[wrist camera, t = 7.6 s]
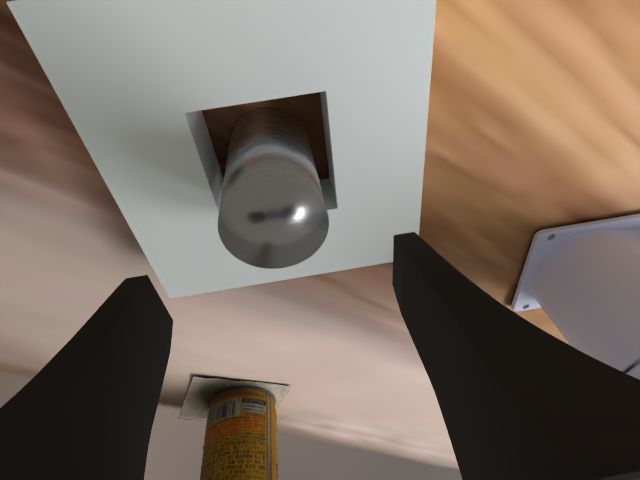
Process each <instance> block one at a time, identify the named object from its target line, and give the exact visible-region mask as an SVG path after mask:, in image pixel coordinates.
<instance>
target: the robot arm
mask: <svg viewBox="0 0 640 480" xmlns="http://www.w3.org/2000/svg"><path fill="white" fill-rule="evenodd" d="M393 287H394V291H395V294H396V298H397V301H398V304H399V308H400V311H401V314H402V316H403V319H404V321H405V324H406V326H407V328H408V330H409V333H410V335H411V337H412V340H413V342H414V344H415V347H416V349H417V351H418V353H419V356H420V358H421V360H422V363H423V365H424V367H425V369H426V372H427V374H428V376H429V379H430V381H431V384H432V386H433V389H434V391H435V394H436V397H437V400H438V403H439V406H440V409H441V412H442V415H443V418H444V421H445V424H446V427H447V430H448V434H449V437H450V440H451V443H452V446H453V450H454V453H455V456H456V459H457V462H458V466H459V469H460V473H461V476H462V479H463V480H640V214H634V215H628V216H622V217H616V218H610V219H604V220H598V221H592V222H586V223H580V224H574V225H568V226H562V227H555V228H549V229H543V230H540V231H538V232H537V233H536V234H535V235H534V238H533V241H532V244H531V247H530V250H529V253H528V256H527V259H526V262H525V265H524V268H523V271H522V274H521V277H520V280H519V283H518V286H517V289H516V292H515V296H514V299H513V302H512V305H511V307H512V309H513V310H514V311H516V312H518V311H524V310H530V309H536V308H542V309H543V310H544V311H545V313H546V314H547V315H548V316H549V318H550V319H551V320H552V322H553V323H554V324H555V326H556V327H557V328H558V329H559V331H560V332H561V333H562V335H563V336H564V337H565V339H566V340H567V341H568V342H569V344H570V345H571V346H570V345H568V344H566V343H565V342H563V341H561V340H559V339H557V338H555V337H554V336H552V335H550V334H548V333H547V332H545V331H543V330H541V329H540V328H538V327H536V326H535V325H533V324H531V323H530V322H528V321H527V320H525V319H524V318H522V317H520V316H519V315H517V314H516V313H514V312H513V311H511V310H509V309H508V308H507V307H505V306H504V305H502V304H501V303H499V302H498V301H497V300H495V299H494V298H492V297H491V296H490V295H488V294H487V293H486V292H484V291H483V290H482V289H480V288H479V287H478V286H477V285H475V284H474V283H473V282H471V281H470V280H469V279H468V278H467V277H465V276H464V275H463V274H462V273H460V272H459V271H458V270H457V269H456V268H454V267H453V266H452V265H451V264H450V263H449V262H447V261H446V260H445V259H444V258H443V257H442V256H441V255H439V254H438V253H437V252H436V251H435V250H434V249H433V248H432V247H431V246H430V245H428V244H427V243H426V242H425V241H424V240H423V239H422V238H421V237H420V236H419V235H418V234H416V233H415V232H410V233H404V234H398V235H394V242H393ZM172 326H173V320H172V318H171V316H170V314H169V313H168V311H167V309H166V307H165V305H164V304H163V302H162V300H161V298H160V297H159V295H158V293H157V291H156V290H155V288H154V286H153V284H152V283H151V281H150V279H149V277H148V276H147V275H145V276H139V277H132V278H126V279H125V280H124V281H123V282H122V283H121V284H120V285H119V286H118V287H117V289H116V290H115V291H114V292H113V293H112V294H111V295H110V296H109V297H108V299H107V300H106V301H105V302H104V303H103V304H102V305H101V306H100V308H99V309H98V310H97V311H96V312H95V313H94V314H93V315H92V317H91V318H90V319H89V320H88V321H87V322H86V323H85V324H84V325H83V327H82V328H81V329H80V330H79V331H78V332H77V333H76V334H75V335H74V337H73V338H72V339H71V340H70V341H69V342H68V343H67V344H66V345H65V346H64V347H63V348H62V349H61V350H60V351H59V352H58V353H57V354H56V355H55V356H54V357H53V358H52V359H51V360H50V361H49V362H48V364H47V365H46V366H45V367H44V368H43V369H42V370H41V371H40V372H39V373H38V374H37V375H36V376H35V377H34V378H33V379H32V380H31V381H30V382H29V383H28V384H26V385H25V386H24V387H23V388H22V389H21V390H20V391H19V392H18V393H17V394H16V395H15V396H14V397H12V398H11V399H10V400H9V401H8V402H7V403H6V404H5V405H4V406H2V407H1V408H0V480H144V472H145V466H146V458H147V450H148V444H149V439H150V434H151V429H152V425H153V421H154V416H155V413H156V409H157V405H158V401H159V397H160V392H161V388H162V384H163V380H164V376H165V372H166V368H167V363H168V359H169V354H170V347H171V338H172Z"/></svg>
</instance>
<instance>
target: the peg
mask: <svg viewBox="0 0 640 480" xmlns="http://www.w3.org/2000/svg"><path fill="white" fill-rule="evenodd" d="M328 229H329V217H328V212H327V209H326V205H325V201H324V197H323V193H322V189H321V186H320V182H319V178H318V174H317V170H316V166H315V162H314V159H313V155H312V151H311V147H310V143H309V139H308V136H307V133H306V131H305V128H304V127H303V125H302V124H301V123H300V121H299V120H298V119H297V118H295V117H294V116H293V115H291V114H290V113H288V112H286V111H284V110H281V109H277V108H260V109H256V110H253V111H251V112H249V113H247V114H246V115H244V116H243V117H242V118H241V119H239V121H238V122H237V123H236V125H235V126H234V128H233V130H232V133H231V136H230V142H229V149H228V156H227V162H226V169H225V176H224V182H223V189H222V196H221V202H220V209H219V215H218V233H219V236H220V239H221V241H222V243H223V245H224V246H225V248H226V249H227V250H228V251H229V252H230V253H231V254H232V255H233V256H234V257H236V258H237V259H239V260H240V261H242V262H244V263H246V264H249V265H252V266H255V267H259V268H267V269H278V268H285V267H290V266H293V265H296V264H299V263H301V262H303V261H305V260H306V259H308V258H309V257H311V256H312V255H313V254H314V253H316V252H317V251H318V249H319V248H320V247H321V246H322V244H323V243H324V241H325V239H326V236H327V233H328Z"/></svg>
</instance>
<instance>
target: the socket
mask: <svg viewBox="0 0 640 480" xmlns="http://www.w3.org/2000/svg"><path fill="white" fill-rule="evenodd" d="M6 3H7V5H8V7H9V8H10V10H11V12H12V14H13V16H14V17H15V19H16V21H17V23H18V25H19V27H20V28H21V30H22V32H23V34H24V36H25V37H26V39H27V41H28V43H29V45H30V47H31V48H32V50H33V52H34V54H35V56H36V57H37V59H38V61H39V63H40V65H41V67H42V68H43V70H44V72H45V74H46V76H47V77H48V79H49V81H50V83H51V85H52V87H53V88H54V90H55V92H56V94H57V96H58V97H59V99H60V101H61V103H62V105H63V107H64V108H65V110H66V112H67V114H68V116H69V117H70V119H71V121H72V123H73V125H74V127H75V128H76V130H77V132H78V134H79V136H80V137H81V139H82V141H83V143H84V145H85V147H86V148H87V150H88V152H89V154H90V156H91V157H92V159H93V161H94V163H95V165H96V167H97V168H98V170H99V172H100V174H101V176H102V177H103V179H104V181H105V183H106V185H107V186H108V188H109V190H110V192H111V194H112V196H113V197H114V199H115V201H116V203H117V205H118V206H119V208H120V210H121V212H122V214H123V216H124V217H125V219H126V221H127V223H128V225H129V226H130V228H131V230H132V232H133V234H134V236H135V237H136V239H137V241H138V243H139V245H140V246H141V248H142V250H143V252H144V254H145V256H146V257H147V259H148V261H149V263H150V265H151V266H152V268H153V270H154V272H155V274H156V276H157V277H158V279H159V281H160V283H161V285H162V286H163V288H164V290H165V292H166V294H167V296H168V297H169V299H172V298H178V297H184V296H190V295H196V294H202V293H208V292H214V291H220V290H226V289H233V288H239V287H245V286H251V285H257V284H263V283H269V282H275V281H281V280H287V279H293V278H299V277H305V276H311V275H317V274H323V273H329V272H335V271H341V270H347V269H353V268H359V267H365V266H371V265H377V264H383V263H389V262H393V242H394V235H398V234H404V233H410V232H415V233H416V234H418V235H419V228H420V214H421V201H422V187H423V174H424V161H425V147H426V134H427V120H428V107H429V94H430V80H431V67H432V53H433V40H434V27H435V13H436V0H13V1H8V2H6ZM317 92H320V99H321V108H322V117H323V127H324V136H325V145H326V154H327V163H328V173H329V178H328V179H322V180H319V182H320V186H321V189H322V193H323V197H324V201H325V205H326V209H327V212H328V217H329V229H328V233H327V236H326V239H325V241H324V243H323V244H322V246H321V247H320V248H319V249H318V251H317V252H316V253H314V254H313V255H312V256H311V257H309V258H308V259H306V260H305V261H303V262H301V263H299V264H296V265H293V266H290V267H285V268H278V269H267V268H259V267H255V266H252V265H249V264H246V263H244V262H242V261H240V260H239V259H237V258H236V257H234V256H233V255H232V254H231V253H230V252H229V251H228V250H227V249H226V248H225V246H224V245H223V243H222V241H221V239H220V236H219V233H218V215H219V209H220V202H221V196H222V189H223V182H224V179H223V176H222V173H221V170H220V166H219V163H218V160H217V157H216V154H215V151H214V147H213V144H212V141H211V138H210V135H209V132H208V128H207V125H206V122H205V119H204V116H203V112H202V110H207V109H213V108H220V107H226V106H233V105H239V104H246V103H252V102H259V101H265V100H271V99H278V98H284V97H291V96H297V95H304V94H310V93H317Z"/></svg>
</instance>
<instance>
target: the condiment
mask: <svg viewBox="0 0 640 480" xmlns="http://www.w3.org/2000/svg"><path fill="white" fill-rule="evenodd" d="M227 385H229V386H227ZM291 387H292V386H284V385H277V384H270V383H269V384H267V383H263V382H253V381H232V380H224V379H219V378H202V377H193V379H192V382H191V384H190V387H189V390H188V392H187V395H186V398H185V400H184V403H183V406H182V409H181V411H180V414H179V417H178V419H186V420H198V421H203V420H204V421H207V425H206V433H205V441H204V446H203V459H202V466H201V475H200V480H278V468H277V466H278V464H277V462H278V458H277V456H278V453H277V451H278V449H277V425H276V423H277V421H276V420H277V414H276V409H277V407H278V406H279V404H280V403H281V401H282V400H283V398H284V397H285V396H286V395H287V393H288V392H289V390H290V388H291ZM204 406H206V407H207V408H209V410H208V409H207V408H205V407H204Z"/></svg>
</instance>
